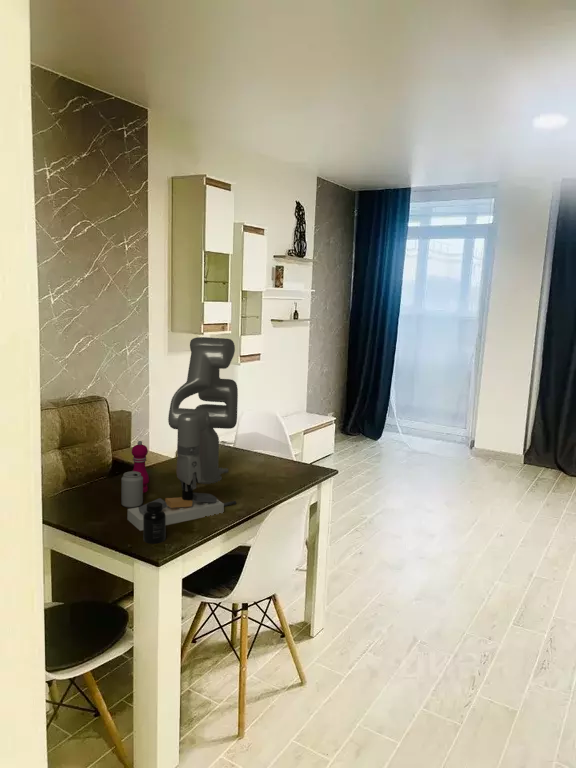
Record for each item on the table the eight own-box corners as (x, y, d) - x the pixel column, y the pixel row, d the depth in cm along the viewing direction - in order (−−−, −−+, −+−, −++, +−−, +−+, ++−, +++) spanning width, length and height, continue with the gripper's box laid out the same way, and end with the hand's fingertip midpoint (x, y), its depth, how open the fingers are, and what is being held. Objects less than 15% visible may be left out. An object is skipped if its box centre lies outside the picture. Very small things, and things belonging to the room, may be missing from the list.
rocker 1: (161, 502, 204) (160, 497, 204) (167, 506, 201) (165, 502, 200) (139, 512, 200) (138, 507, 200) (144, 516, 196) (143, 511, 196)
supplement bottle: (167, 537, 192) (168, 501, 190) (162, 546, 185) (163, 509, 183) (146, 535, 192) (146, 499, 190) (140, 544, 185) (140, 507, 183)
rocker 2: (186, 501, 210) (186, 497, 210) (192, 506, 206) (192, 501, 206) (164, 503, 205) (165, 498, 205) (170, 507, 202) (171, 502, 201)
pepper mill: (125, 491, 230) (125, 441, 227) (138, 486, 237) (138, 437, 234) (140, 495, 227) (140, 444, 224) (152, 490, 234) (153, 440, 230)
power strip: (227, 500, 226) (228, 489, 225) (242, 510, 217) (243, 498, 216) (127, 520, 203) (127, 507, 202) (139, 531, 194) (140, 518, 194)
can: (145, 507, 216) (145, 475, 214) (124, 510, 212) (124, 477, 210) (139, 500, 222) (139, 469, 220) (119, 503, 218) (119, 471, 216)
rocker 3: (209, 498, 215) (210, 493, 215) (215, 502, 212) (217, 497, 212) (190, 497, 211) (191, 492, 211) (196, 501, 207) (197, 496, 207)
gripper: (208, 453, 201) (207, 506, 204) (188, 443, 213) (187, 492, 216) (188, 456, 196) (187, 510, 199) (168, 445, 208) (168, 496, 211)
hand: (187, 501), depth 207 cm, fingers closed
